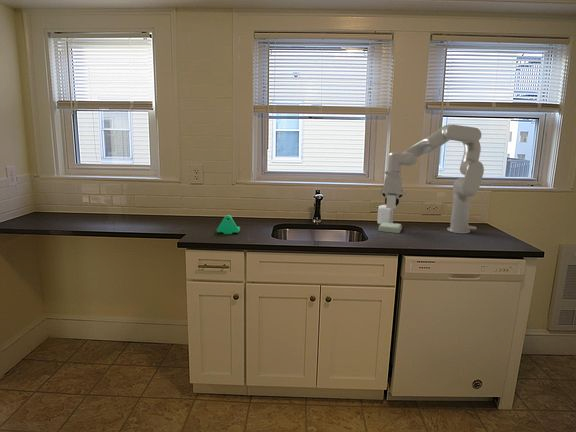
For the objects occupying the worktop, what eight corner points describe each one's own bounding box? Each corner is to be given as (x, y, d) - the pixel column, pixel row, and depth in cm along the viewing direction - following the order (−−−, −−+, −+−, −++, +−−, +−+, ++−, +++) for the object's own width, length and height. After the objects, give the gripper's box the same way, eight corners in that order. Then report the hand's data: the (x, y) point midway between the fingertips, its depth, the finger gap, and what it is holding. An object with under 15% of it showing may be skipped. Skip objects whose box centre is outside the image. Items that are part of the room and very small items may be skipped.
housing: (395, 208, 234) (396, 194, 233) (386, 207, 236) (387, 194, 234) (396, 206, 242) (397, 193, 240) (387, 205, 243) (388, 192, 242)
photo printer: (376, 223, 259) (377, 204, 256) (380, 222, 261) (381, 203, 259) (389, 226, 251) (390, 206, 248) (393, 225, 254) (395, 206, 251)
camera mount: (240, 231, 233) (240, 213, 231) (238, 234, 225) (238, 216, 223) (219, 230, 233) (218, 213, 231) (216, 234, 225) (216, 215, 223)
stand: (401, 228, 245) (401, 223, 244) (399, 233, 234) (399, 228, 233) (381, 226, 249) (381, 222, 249) (378, 231, 238) (378, 226, 238)
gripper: (378, 173, 235) (375, 204, 238) (408, 175, 229) (406, 207, 232) (380, 172, 241) (377, 202, 245) (409, 174, 235) (407, 205, 239)
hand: (391, 204), depth 239 cm, fingers closed on housing, 5 cm apart
